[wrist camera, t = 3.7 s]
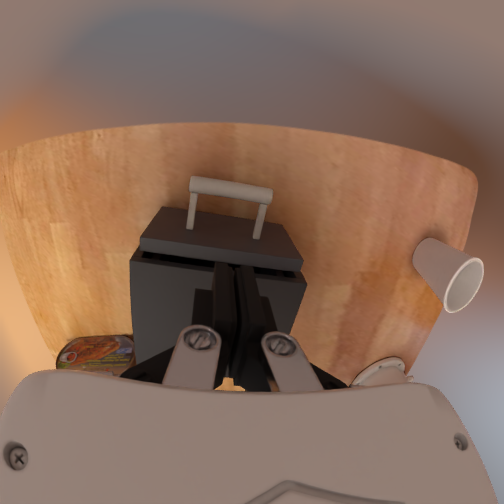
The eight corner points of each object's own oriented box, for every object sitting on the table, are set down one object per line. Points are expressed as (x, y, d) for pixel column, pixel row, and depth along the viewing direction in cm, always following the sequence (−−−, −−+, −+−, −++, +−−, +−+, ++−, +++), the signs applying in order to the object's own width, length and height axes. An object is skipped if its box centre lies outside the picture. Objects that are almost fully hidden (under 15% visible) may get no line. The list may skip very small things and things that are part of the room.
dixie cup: (423, 220, 33) (470, 249, 24) (450, 240, 35) (490, 269, 26) (396, 269, 36) (435, 307, 27) (425, 283, 38) (460, 318, 29)
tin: (140, 332, 36) (127, 376, 28) (147, 347, 37) (137, 390, 30) (65, 337, 35) (47, 373, 28) (74, 351, 37) (58, 386, 29)
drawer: (167, 163, 26) (144, 177, 18) (292, 184, 28) (319, 206, 20) (156, 294, 32) (141, 342, 25) (260, 307, 35) (271, 356, 27)
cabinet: (157, 217, 29) (129, 260, 20) (282, 236, 32) (307, 283, 22) (153, 307, 34) (136, 365, 25) (259, 320, 37) (271, 379, 27)
